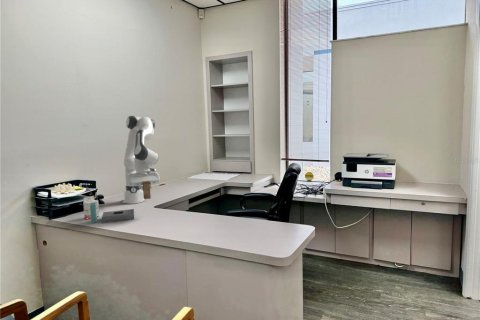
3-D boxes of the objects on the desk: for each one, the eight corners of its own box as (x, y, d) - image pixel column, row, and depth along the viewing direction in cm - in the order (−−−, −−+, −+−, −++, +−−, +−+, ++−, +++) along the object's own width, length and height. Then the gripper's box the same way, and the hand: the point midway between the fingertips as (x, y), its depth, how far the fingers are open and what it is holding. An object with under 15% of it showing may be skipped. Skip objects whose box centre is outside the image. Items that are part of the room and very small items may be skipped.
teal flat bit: (92, 220, 222) (91, 203, 221) (96, 220, 223) (95, 202, 221) (91, 223, 215) (89, 205, 214) (95, 222, 216) (94, 205, 215)
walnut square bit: (143, 198, 226) (142, 181, 224) (149, 197, 228) (148, 180, 226) (144, 199, 222) (143, 181, 221) (150, 198, 224) (149, 181, 223)
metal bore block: (104, 217, 227) (103, 212, 227) (134, 214, 233) (133, 209, 233) (102, 222, 216) (101, 216, 215) (134, 219, 222) (133, 213, 221)
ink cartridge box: (88, 219, 224) (87, 198, 222) (84, 218, 226) (82, 198, 225) (99, 216, 231) (98, 196, 229) (95, 215, 234) (93, 195, 232)
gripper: (128, 171, 224) (131, 187, 217) (158, 168, 233) (162, 184, 226) (127, 176, 229) (130, 193, 221) (156, 174, 238) (160, 189, 230)
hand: (146, 188), depth 224 cm, fingers closed on walnut square bit, 4 cm apart
